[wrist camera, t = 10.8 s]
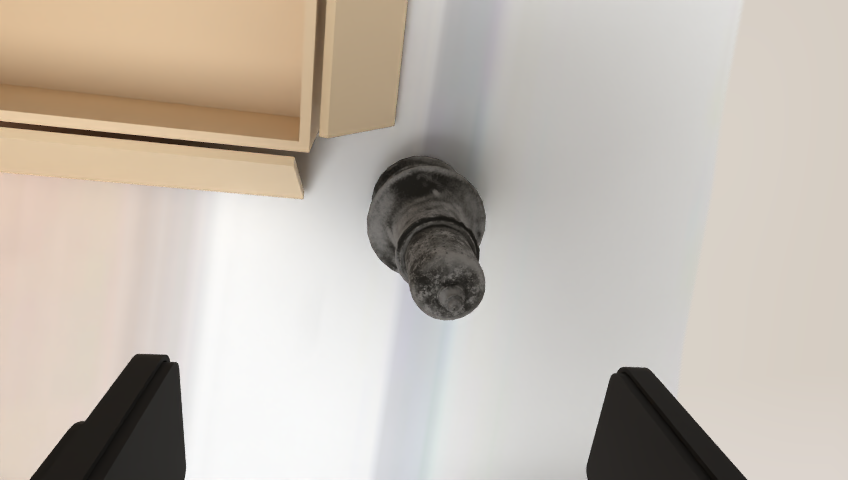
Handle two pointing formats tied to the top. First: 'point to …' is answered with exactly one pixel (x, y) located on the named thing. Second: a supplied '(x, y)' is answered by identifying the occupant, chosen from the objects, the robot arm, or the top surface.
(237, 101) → the carton
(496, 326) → the top surface
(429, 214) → the weathered iron finial
